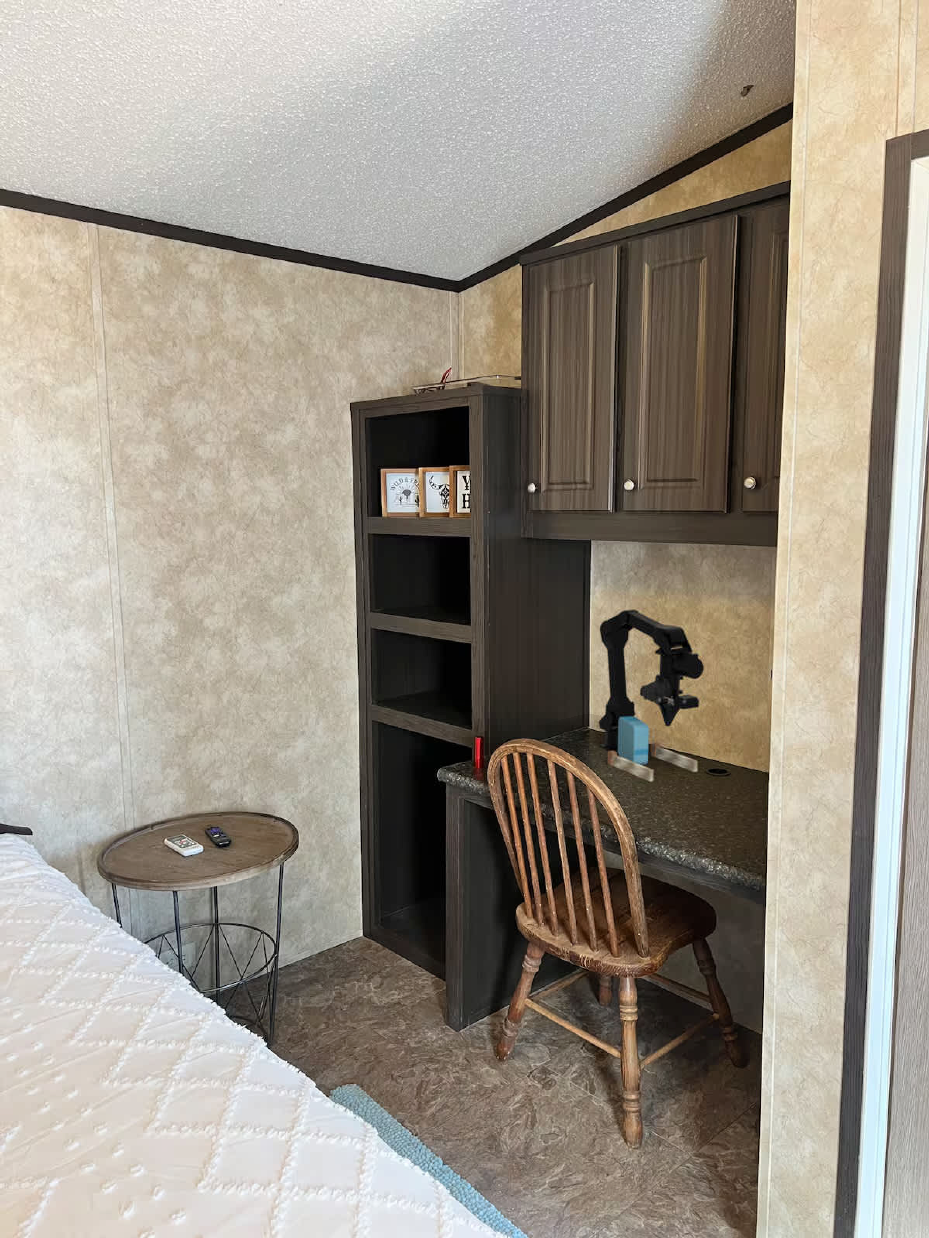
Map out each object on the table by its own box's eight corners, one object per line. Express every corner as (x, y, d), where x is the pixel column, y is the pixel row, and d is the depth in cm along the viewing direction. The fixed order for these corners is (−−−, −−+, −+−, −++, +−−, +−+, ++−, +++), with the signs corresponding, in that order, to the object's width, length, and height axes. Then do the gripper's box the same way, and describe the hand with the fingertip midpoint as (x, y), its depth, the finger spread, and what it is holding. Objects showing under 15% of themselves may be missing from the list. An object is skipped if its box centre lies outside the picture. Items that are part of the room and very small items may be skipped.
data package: (648, 765, 266) (649, 725, 264) (633, 766, 265) (634, 726, 264) (631, 753, 278) (632, 714, 276) (617, 754, 277) (618, 715, 275)
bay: (607, 764, 268) (607, 751, 267) (655, 754, 277) (655, 742, 276) (648, 781, 252) (649, 768, 252) (698, 771, 261) (698, 758, 261)
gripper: (625, 668, 263) (624, 721, 266) (669, 681, 247) (667, 738, 250) (656, 664, 269) (654, 716, 271) (701, 677, 252) (699, 732, 255)
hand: (667, 725), depth 262 cm, fingers closed
